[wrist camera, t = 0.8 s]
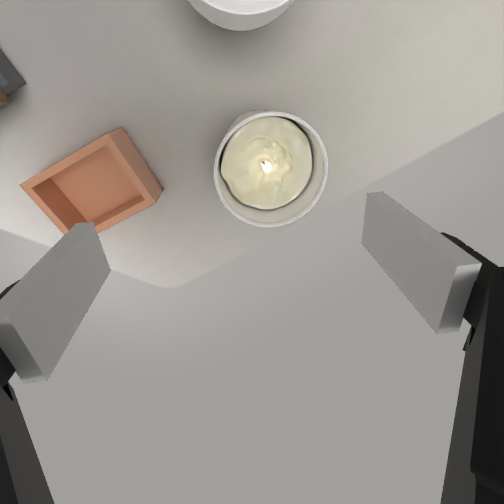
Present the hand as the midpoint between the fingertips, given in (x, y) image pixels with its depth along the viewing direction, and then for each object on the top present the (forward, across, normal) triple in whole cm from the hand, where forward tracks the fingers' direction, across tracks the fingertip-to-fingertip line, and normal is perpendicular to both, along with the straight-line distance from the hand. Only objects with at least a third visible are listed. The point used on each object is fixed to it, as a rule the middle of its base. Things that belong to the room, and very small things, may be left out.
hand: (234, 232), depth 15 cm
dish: (+24, -15, -3) cm, 29 cm away
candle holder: (+24, +4, -1) cm, 25 cm away
